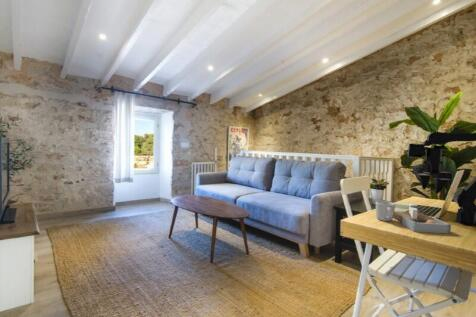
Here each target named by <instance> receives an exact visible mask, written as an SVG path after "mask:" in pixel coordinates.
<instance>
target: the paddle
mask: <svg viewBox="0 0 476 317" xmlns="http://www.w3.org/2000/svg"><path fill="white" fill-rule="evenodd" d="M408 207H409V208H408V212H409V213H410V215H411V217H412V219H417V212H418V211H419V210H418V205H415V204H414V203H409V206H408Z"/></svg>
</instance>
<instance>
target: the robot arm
mask: <svg viewBox="0 0 476 317" xmlns="http://www.w3.org/2000/svg"><path fill="white" fill-rule="evenodd" d="M451 142H476V132H469V133H468V132H466V133H465V132H464V133H462V132H461V133H451V132H450V133H449V132H443V131H434V132H430V133H429V134H427V136H426V139H425V140H424V141H423V142H422V143H421V144H420V143H408V144H409V145H408V149H407V158H417V159H422V158H423V157H425V159H424V160H422V163H420V164H415V165H412V166H411V169H412V173H413V174H414V175H415V176H416V177H418V179H419V181H420V184H421V188H422V190H426V188H427V187H428V184H429V182H430V179H431V176H432V177H433V178H432V179H433V181H434V182H435V190H434V191H435V194H439V193H440V192H441V191H442V189H443V188H444V187H445V186H446V185H447V183H449V181H451V180H454V174H453V173H452V172H448V171H443V170H442V169H441V164H444V161H443V160H442V153H443V150H448V147H447V146H446V145H445V144H446V143H451ZM439 144H441V145H439ZM430 146H431V147H430ZM425 155H426V156H425ZM452 198H453V201H454V203H456V204H457V206H458V207H459V208H457V211H456V217H455V218H456V219H454V220H453V221H454V222H457V223H459V224H462V225H464V226H476V203H475V202H476V175H475V176H474V177H473V179H471V181H470V182H469V183H468V184H467V186H465V187H463V188H462V187H461V186H458V188H457V190H456V192H453V197H452Z"/></svg>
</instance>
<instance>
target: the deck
mask: <svg viewBox="0 0 476 317" xmlns="http://www.w3.org/2000/svg"><path fill="white" fill-rule="evenodd" d="M402 217H406V218H408V219H410V220H412V221H414V222H416V223H426V221H428V220H433V217H432V216H429V215H427V214H426V213H422V212H417V219H412V217H411V215H410V213H409V211H395V210H394V215H393V219H394V220H395V221H397V222H399V223H401V224H402Z"/></svg>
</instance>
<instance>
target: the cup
mask: <svg viewBox="0 0 476 317" xmlns="http://www.w3.org/2000/svg"><path fill="white" fill-rule="evenodd" d="M396 206H397V205H396V203H395V202H391V201H387V200H376V201H375V217H376V219H377V220H379V221H383V222H391V221H392V220H393V219H394V218H393V215H394V211H395V210H396Z"/></svg>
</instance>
